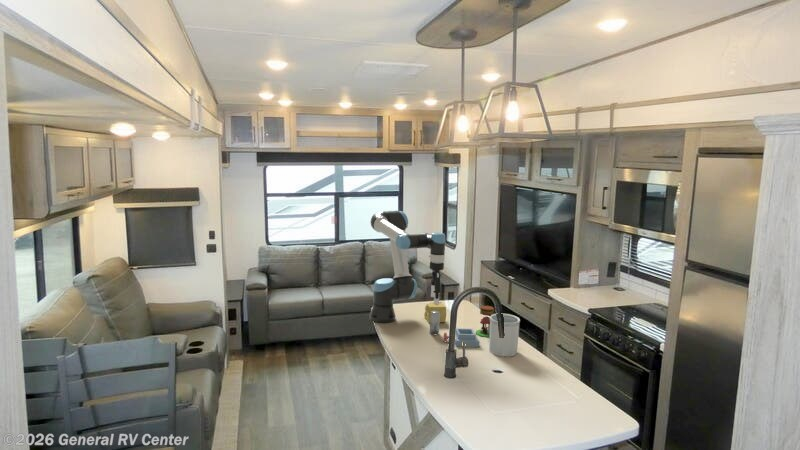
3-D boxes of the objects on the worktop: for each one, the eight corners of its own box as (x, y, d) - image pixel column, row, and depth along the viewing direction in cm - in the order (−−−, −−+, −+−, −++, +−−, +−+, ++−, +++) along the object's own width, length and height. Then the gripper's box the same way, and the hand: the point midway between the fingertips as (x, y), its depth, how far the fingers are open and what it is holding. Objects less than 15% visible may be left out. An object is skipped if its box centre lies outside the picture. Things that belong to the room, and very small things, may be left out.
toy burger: (472, 336, 267) (474, 309, 265) (476, 329, 279) (478, 303, 277) (494, 339, 263) (496, 312, 261) (497, 332, 275) (499, 306, 273)
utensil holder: (491, 357, 239) (493, 322, 237) (484, 345, 254) (487, 312, 252) (521, 357, 240) (523, 323, 238) (513, 346, 255) (515, 313, 252)
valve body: (442, 337, 265) (442, 326, 264) (473, 338, 265) (474, 327, 265) (445, 347, 251) (446, 335, 250) (478, 347, 252) (479, 336, 251)
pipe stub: (429, 331, 271) (430, 310, 269) (438, 332, 271) (439, 310, 269) (430, 334, 266) (431, 313, 264) (439, 335, 266) (440, 313, 264)
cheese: (424, 317, 294) (424, 301, 293) (441, 317, 296) (442, 301, 295) (428, 323, 284) (429, 306, 283) (446, 323, 286) (447, 306, 285)
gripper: (427, 256, 273) (425, 293, 276) (432, 266, 249) (430, 307, 252) (440, 257, 274) (438, 294, 277) (447, 267, 249) (444, 307, 252)
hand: (434, 300), depth 264 cm, fingers open, 13 cm apart
